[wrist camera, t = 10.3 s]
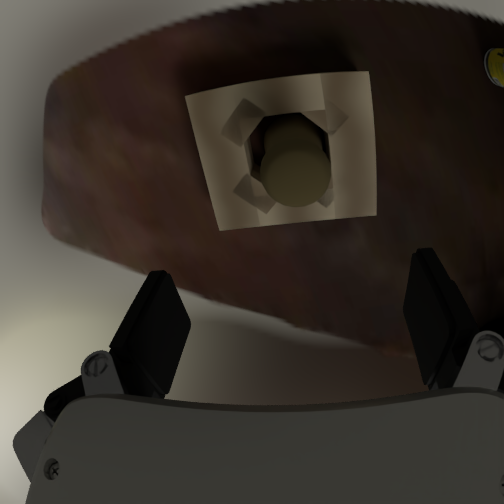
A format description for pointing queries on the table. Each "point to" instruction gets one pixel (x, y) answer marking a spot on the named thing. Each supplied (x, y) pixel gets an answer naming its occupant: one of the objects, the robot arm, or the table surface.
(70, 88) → the table surface
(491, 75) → the supplement bottle
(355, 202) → the jig
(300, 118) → the cork
